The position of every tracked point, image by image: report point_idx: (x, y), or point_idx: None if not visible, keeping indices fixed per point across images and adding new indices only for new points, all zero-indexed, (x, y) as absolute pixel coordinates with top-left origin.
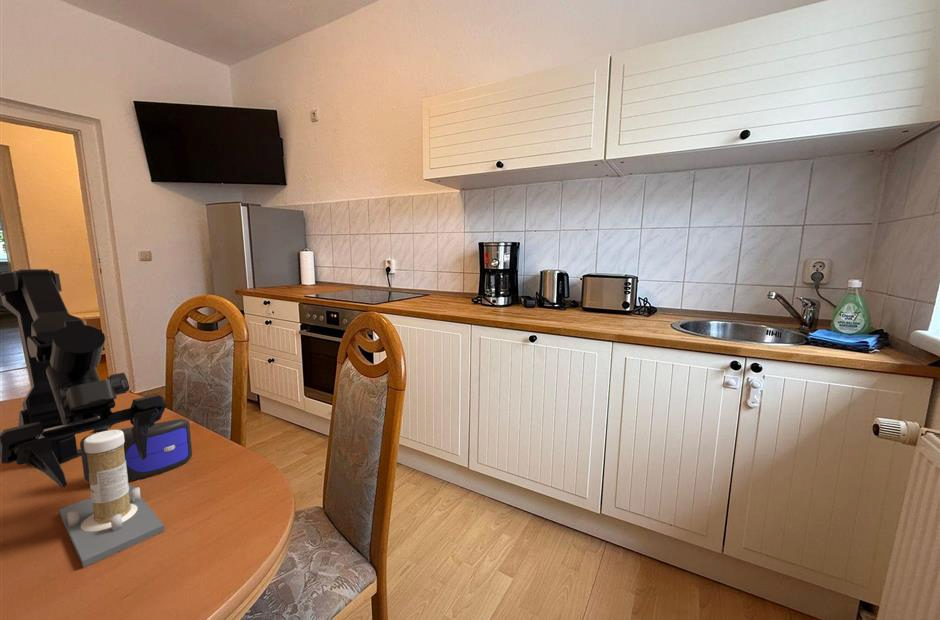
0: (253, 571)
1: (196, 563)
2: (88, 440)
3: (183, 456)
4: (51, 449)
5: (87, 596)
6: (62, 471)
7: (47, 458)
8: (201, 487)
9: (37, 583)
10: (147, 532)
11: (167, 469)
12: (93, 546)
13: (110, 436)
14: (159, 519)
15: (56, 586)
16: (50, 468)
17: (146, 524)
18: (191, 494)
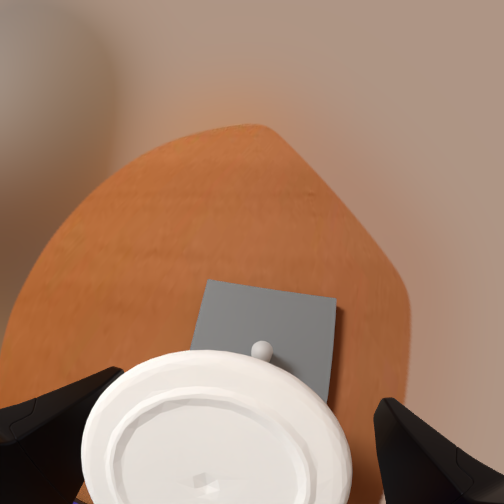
0: (214, 129)
1: (234, 177)
2: (332, 473)
3: None
4: (475, 500)
5: (342, 232)
6: (406, 424)
7: (472, 466)
8: (85, 367)
9: (383, 325)
10: (236, 284)
11: (81, 501)
12: (312, 331)
13: (186, 396)
14: (200, 308)
15: (366, 291)
16: (445, 440)
17: (222, 314)
18: (108, 363)
